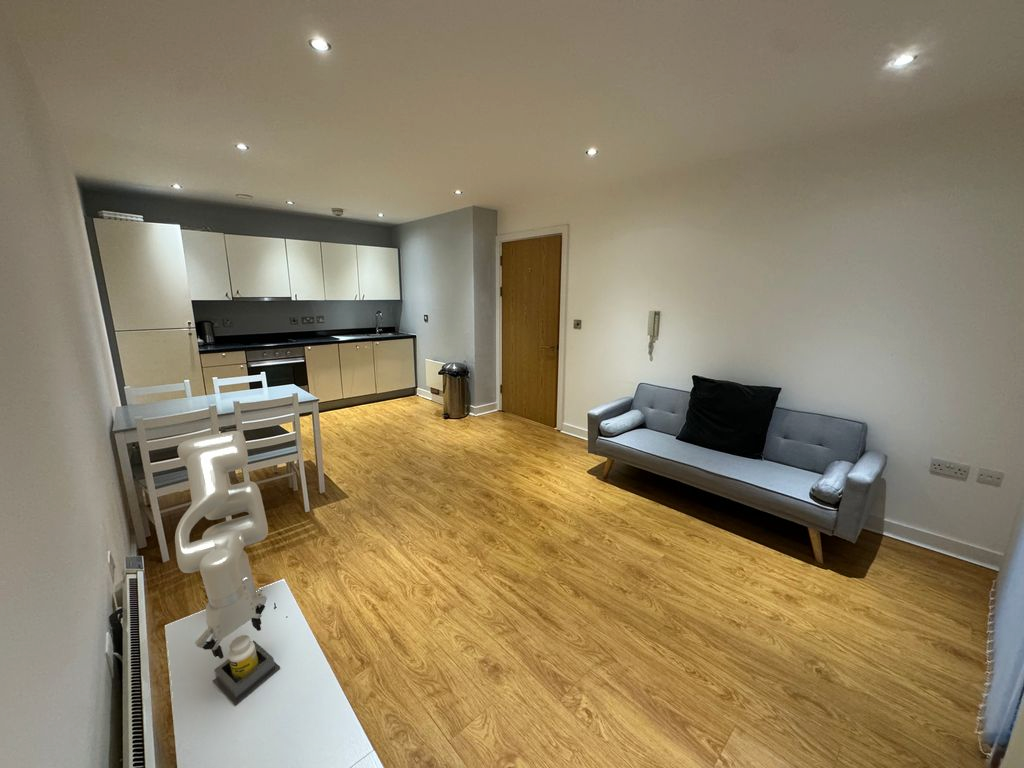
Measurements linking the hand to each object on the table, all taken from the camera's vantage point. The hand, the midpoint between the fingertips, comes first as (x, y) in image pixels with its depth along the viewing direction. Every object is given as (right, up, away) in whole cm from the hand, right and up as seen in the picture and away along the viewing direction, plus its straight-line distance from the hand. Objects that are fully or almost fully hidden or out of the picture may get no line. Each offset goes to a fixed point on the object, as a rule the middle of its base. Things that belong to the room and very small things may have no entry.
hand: (239, 641), depth 111 cm
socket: (+1, -11, +3) cm, 12 cm away
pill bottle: (0, -11, +3) cm, 11 cm away
